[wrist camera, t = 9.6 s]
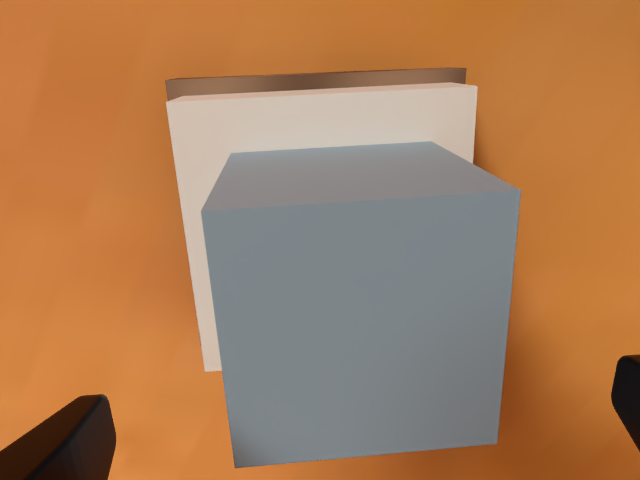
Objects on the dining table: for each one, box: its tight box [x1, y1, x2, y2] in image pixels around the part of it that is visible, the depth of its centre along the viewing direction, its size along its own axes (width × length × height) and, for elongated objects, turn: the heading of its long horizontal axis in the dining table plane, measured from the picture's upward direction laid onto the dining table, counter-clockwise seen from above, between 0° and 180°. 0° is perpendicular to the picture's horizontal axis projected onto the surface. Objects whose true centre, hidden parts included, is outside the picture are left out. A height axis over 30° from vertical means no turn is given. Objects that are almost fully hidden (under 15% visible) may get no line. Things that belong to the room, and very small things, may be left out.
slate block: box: [201, 141, 521, 468], centre depth 13 cm, size 6×6×6 cm
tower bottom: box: [165, 68, 466, 343], centre depth 20 cm, size 10×10×2 cm
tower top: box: [166, 82, 478, 372], centre depth 17 cm, size 9×9×2 cm
